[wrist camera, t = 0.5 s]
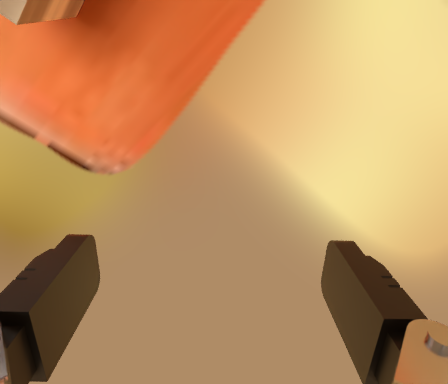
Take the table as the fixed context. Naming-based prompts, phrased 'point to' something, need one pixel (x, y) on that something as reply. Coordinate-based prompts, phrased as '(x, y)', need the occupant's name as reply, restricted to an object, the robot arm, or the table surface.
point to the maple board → (39, 10)
